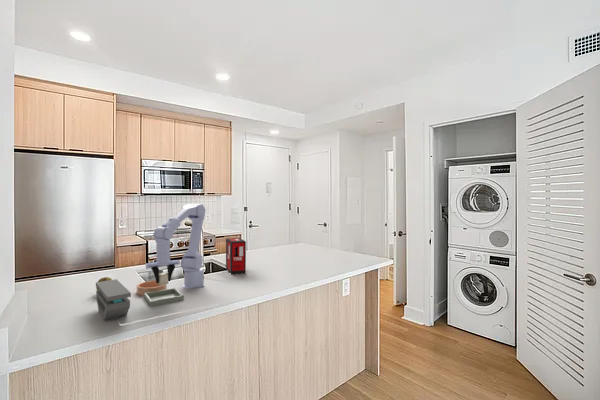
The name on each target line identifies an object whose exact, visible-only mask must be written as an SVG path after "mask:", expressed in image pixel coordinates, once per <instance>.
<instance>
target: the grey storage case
mask: <svg viewBox="0 0 600 400" xmlns="http://www.w3.org/2000/svg"><path fill="white" fill-rule="evenodd" d="M95 287H97V288H98V290H97V289H96V294H95V295H96V302H97V309H98V313H99V315H100V316H101V318H102V320H103V321H108V320H112V319H116V318H118V317H120V316H121V317H122V316H125V315H128V313H129V310H130V308H131V300H130V299H129V298H131V296H132V293H131V292H130V290H128V289H127V287H125V286H124V285H123V284H122V283H121V282H120V281H119V280H118V279H112V280H108V281H102V282H98V281H96V282H95Z"/></svg>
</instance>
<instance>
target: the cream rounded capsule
mask: <svg viewBox="0 0 600 400" xmlns="http://www.w3.org/2000/svg"><path fill="white" fill-rule="evenodd" d="M158 284H159V285H165V284H167V285H169V281H168V272H161V273H160V272H159V283H158Z"/></svg>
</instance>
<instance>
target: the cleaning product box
mask: <svg viewBox="0 0 600 400" xmlns="http://www.w3.org/2000/svg"><path fill="white" fill-rule="evenodd" d="M246 243H247V241H245V240H244V239H242V238H240V237H233V238H231V237H230V238H225V269H226V270H227V272H228V273H229V272H230V273H231V274H230V273H229V274H230V275H232V274H233V275H241V273H243V274H246V271H247V270H246V269H247V268H246V267H247V266H246V263H247V262H246V259H247V257H246V255H247V253H246V251H247V249H246V248H247V245H246Z"/></svg>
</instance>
